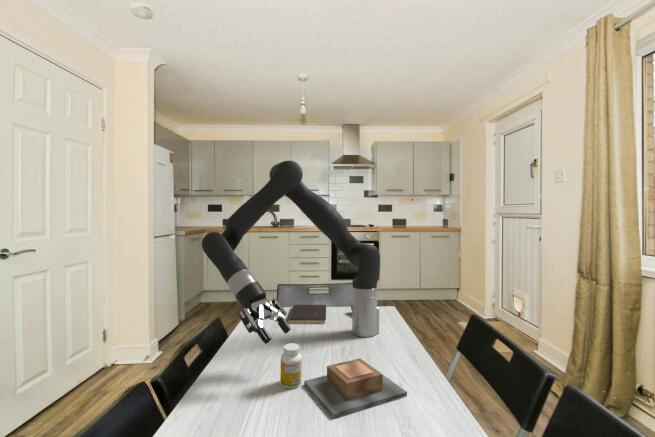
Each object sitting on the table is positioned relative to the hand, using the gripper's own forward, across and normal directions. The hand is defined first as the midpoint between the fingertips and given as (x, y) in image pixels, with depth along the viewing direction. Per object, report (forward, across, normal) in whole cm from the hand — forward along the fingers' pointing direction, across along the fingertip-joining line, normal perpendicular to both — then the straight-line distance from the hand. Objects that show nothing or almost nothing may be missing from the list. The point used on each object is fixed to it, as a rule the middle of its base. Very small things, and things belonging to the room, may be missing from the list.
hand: (279, 336), depth 87 cm
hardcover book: (-8, +52, +25) cm, 58 cm away
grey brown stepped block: (+22, +4, -6) cm, 23 cm away
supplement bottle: (+11, -1, +5) cm, 12 cm away
